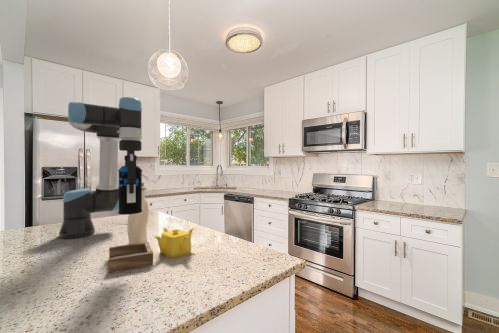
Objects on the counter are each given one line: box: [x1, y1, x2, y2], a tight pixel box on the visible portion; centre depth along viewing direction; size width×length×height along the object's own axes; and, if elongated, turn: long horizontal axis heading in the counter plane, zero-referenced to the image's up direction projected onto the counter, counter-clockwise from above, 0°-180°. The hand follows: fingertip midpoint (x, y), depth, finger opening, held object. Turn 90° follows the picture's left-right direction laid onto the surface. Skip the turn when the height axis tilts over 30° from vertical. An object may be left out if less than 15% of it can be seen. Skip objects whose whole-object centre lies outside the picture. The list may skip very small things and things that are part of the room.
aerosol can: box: [117, 164, 143, 215], centre depth 91 cm, size 8×8×20 cm
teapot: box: [153, 227, 196, 259], centre depth 101 cm, size 15×14×10 cm
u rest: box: [108, 241, 154, 274], centre depth 91 cm, size 14×14×4 cm
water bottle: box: [126, 182, 150, 245], centre depth 112 cm, size 10×9×28 cm
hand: (130, 200), depth 91 cm, fingers closed on aerosol can, 8 cm apart
